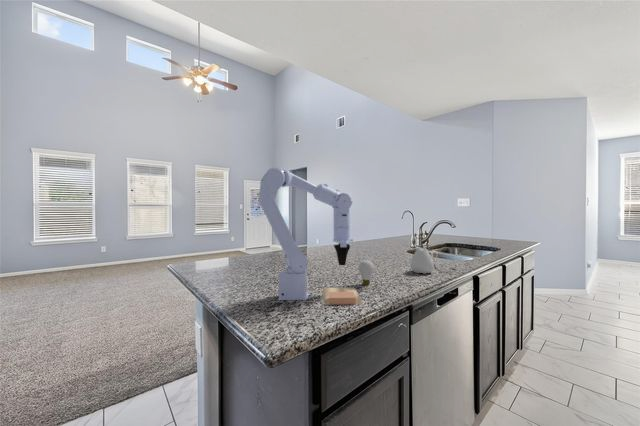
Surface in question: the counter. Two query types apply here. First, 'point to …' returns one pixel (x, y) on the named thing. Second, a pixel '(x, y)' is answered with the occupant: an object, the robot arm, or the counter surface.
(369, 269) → the light bulb
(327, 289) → the mat
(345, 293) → the tile
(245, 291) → the counter surface
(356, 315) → the counter surface
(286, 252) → the robot arm
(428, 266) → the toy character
